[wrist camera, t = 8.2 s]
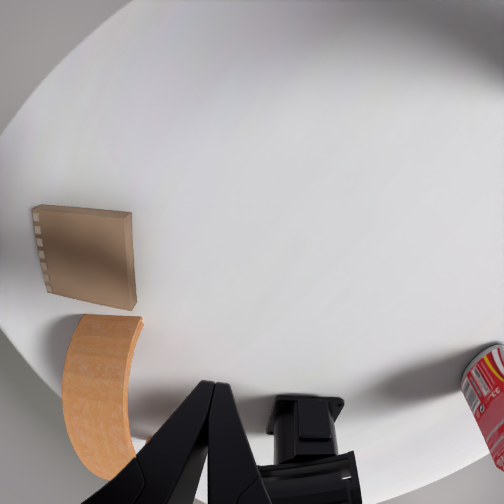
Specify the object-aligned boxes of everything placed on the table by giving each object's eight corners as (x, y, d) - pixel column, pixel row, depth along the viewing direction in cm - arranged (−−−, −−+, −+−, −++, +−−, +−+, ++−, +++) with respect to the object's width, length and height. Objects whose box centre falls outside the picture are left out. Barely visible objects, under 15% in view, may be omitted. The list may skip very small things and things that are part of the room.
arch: (144, 315, 23) (93, 417, 14) (192, 445, 31) (178, 516, 22) (85, 312, 23) (25, 397, 14) (148, 439, 31) (128, 505, 22)
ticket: (137, 302, 22) (130, 312, 21) (54, 284, 22) (46, 292, 21) (131, 212, 19) (123, 219, 18) (41, 204, 19) (31, 210, 18)
